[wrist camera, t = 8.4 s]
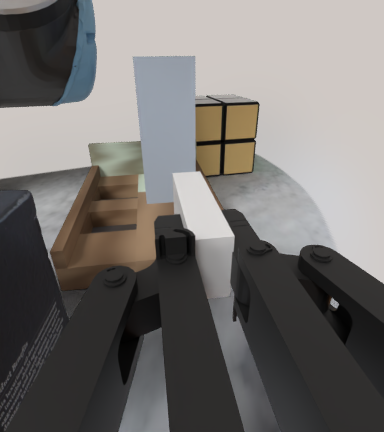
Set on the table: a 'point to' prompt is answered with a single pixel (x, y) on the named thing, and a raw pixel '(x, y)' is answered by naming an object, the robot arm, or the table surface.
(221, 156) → the puzzle cube
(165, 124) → the slate block
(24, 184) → the table surface
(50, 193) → the table surface
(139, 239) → the trap box
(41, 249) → the small box
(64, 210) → the table surface
